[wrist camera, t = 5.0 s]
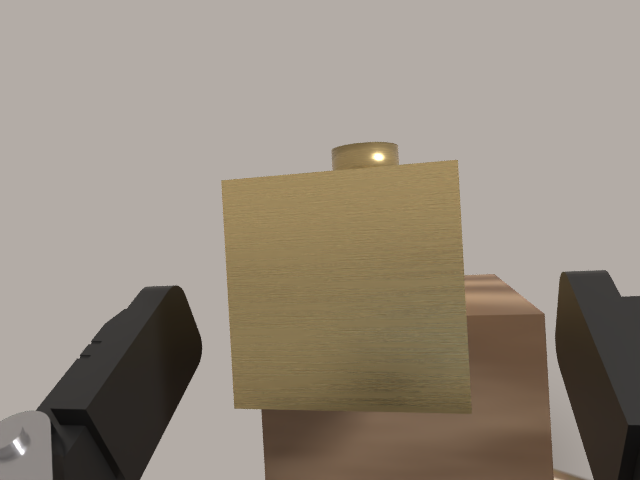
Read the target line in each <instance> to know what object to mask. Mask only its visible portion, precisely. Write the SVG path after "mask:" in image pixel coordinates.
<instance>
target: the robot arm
mask: <svg viewBox="0 0 640 480" xmlns="http://www.w3.org/2000/svg"><path fill="white" fill-rule="evenodd" d="M555 341H556V353H557V359H558V363H559V368H560V371H561V374H562V377H563V380H564V384H565V387H566V390H567V393H568V397H569V400H570V403H571V407H572V410H573V413H574V416H575V419H576V423H577V426H578V429H579V433H580V436H581V439H582V442H583V446H584V449H585V452H586V455H587V459H588V462H589V465H590V468H591V471H592V475H593V478H594V480H640V296H630V297H621V295H620V293H619V292H618V290H617V288H616V286H615V284H614V282H613V280H612V278H611V277H610V275H609V273H608V272H607V271H606V270H601V271H572V272H562V273H561V277H560V282H559V294H558V307H557V319H556V332H555ZM91 342H92V343H91V344H89V345H88V346H87V347H86V348H85V350H84V351H83V352H82V353H81V355H80V359H77V360H76V361H75V362H74V363H73V365H72V366H71V367H70V368H69V370H68V371H67V372H66V373H65V375H64V376H63V377H62V378H61V380H60V381H59V382H58V383H57V385H56V386H55V387H54V389H53V390H52V391H51V392H50V393H49V395H48V396H47V397H46V398H45V400H44V401H43V402H42V403H41V405H40V406H39V407H38V408H37V410H36V411H25V412H21V413H18V414H15V415H12V416H10V417H8V418H6V419H4V420H2V421H0V480H140V478H141V476H142V474H143V472H144V470H145V469H146V467H147V465H148V463H149V461H150V459H151V457H152V455H153V453H154V451H155V449H156V447H157V445H158V443H159V441H160V439H161V437H162V435H163V433H164V431H165V429H166V427H167V426H168V424H169V421H170V420H171V418H172V416H173V414H174V412H175V410H176V408H177V406H178V404H179V402H180V400H181V398H182V396H183V394H184V392H185V390H186V388H187V386H188V385H189V382H190V381H191V379H192V377H193V375H194V373H195V371H196V369H197V367H198V365H199V362H200V359H201V354H202V341H201V337H200V334H199V331H198V328H197V325H196V323H195V320H194V317H193V315H192V312H191V309H190V307H189V304H188V301H187V299H186V296H185V293H184V291H183V290H182V288H180V287H179V286H156V287H155V286H153V287H145V288H144V289H142V290H141V291H140V293H139V294H138V295H137V297H136V298H135V299H134V300H133V302H132V303H131V304H130V305H129V307H128V308H127V309H124V310H123V311H121V312H120V313H119V314H118V315H116V316H115V317H113V318H112V319H111V320H110V321H108V322H107V323H106V324H105V325H104V326H103V327H102V328H101V329H100V331H99V332H98V333H97V334H96V336H95V337H94V339H92V341H91Z"/></svg>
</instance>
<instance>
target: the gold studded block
mask: <svg viewBox="0 0 640 480" xmlns="http://www.w3.org/2000/svg"><path fill="white" fill-rule="evenodd" d="M332 167H333V171H324V172H313V173H302V174H290V175H279V176H268V177H257V178H244V179H233V180H222V200H223V217H224V234H225V252H226V270H227V287H228V304H229V320H230V321H229V322H230V339H231V356H232V373H233V392H234V408H235V409H278V410H321V411H364V412H408V413H451V414H472V407H471V389H470V371H469V353H468V335H467V317H466V299H465V281H464V263H463V246H462V228H461V209H460V191H459V175H458V160H450V161H440V162H427V163H417V164H404V165H399V158H398V145H397V144H394V143H387V142H368V143H356V144H349V145H344V146H339V147H336V148H334V149H332Z"/></svg>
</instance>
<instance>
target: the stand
mask: <svg viewBox="0 0 640 480" xmlns="http://www.w3.org/2000/svg"><path fill="white" fill-rule="evenodd" d="M464 281H465V299H466V317H467V335H468V353H469V371H470V389H471V407H472V414H451V413H408V412H364V411H321V410H278V409H261V410H262V425H263V426H262V427H263V443H264V444H263V445H264V460H265V461H264V462H265V480H554V477H553V460H552V443H551V442H552V441H551V423H550V406H549V387H548V369H547V351H546V333H545V316H544V313H542V312H541V311H540V310H539V309H537V308H536V307H535V306H534V305H532V304H531V303H530V302H528V301H527V300H526V299H525V298H523V297H522V296H521V295H520V294H519V293H517V292H516V291H515V290H513V289H512V288H511V287H510V286H508V285H507V284H506V283H505V282H503V281H502V280H501V279H500V278H498V277H497V276H496V275H495V274H486V275H464Z"/></svg>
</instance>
